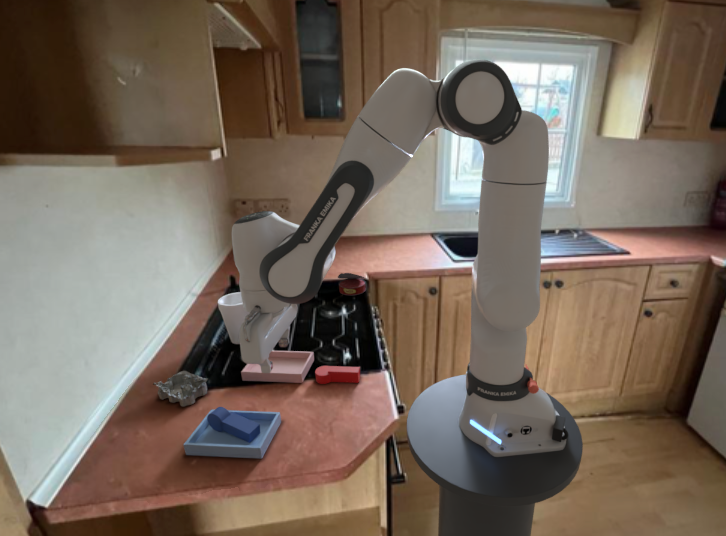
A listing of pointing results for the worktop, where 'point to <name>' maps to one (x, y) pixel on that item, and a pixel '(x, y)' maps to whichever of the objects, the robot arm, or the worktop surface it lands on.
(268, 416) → the blue tray
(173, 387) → the egg carton
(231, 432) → the dark blue block
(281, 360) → the rose tray
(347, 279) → the canned food
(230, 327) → the foam cup
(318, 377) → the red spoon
